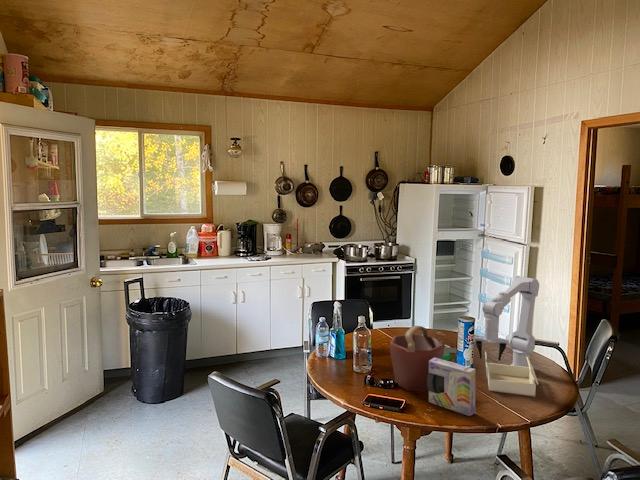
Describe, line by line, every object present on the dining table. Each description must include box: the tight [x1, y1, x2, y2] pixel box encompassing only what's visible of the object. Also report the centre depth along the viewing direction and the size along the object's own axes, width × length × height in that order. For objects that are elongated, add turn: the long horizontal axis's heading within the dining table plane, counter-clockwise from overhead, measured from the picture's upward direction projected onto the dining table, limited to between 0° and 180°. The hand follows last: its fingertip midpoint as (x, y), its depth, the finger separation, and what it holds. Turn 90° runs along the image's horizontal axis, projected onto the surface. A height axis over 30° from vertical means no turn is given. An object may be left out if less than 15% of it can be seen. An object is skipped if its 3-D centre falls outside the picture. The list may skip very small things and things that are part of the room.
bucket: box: [389, 325, 445, 392], centre depth 213 cm, size 24×22×25 cm
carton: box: [487, 362, 537, 397], centre depth 214 cm, size 20×18×5 cm
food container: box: [439, 340, 458, 363], centre depth 235 cm, size 12×6×10 cm, turn 21°
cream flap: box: [526, 357, 539, 386], centre depth 211 cm, size 20×5×1 cm
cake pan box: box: [427, 358, 477, 417], centre depth 191 cm, size 19×5×18 cm, turn 45°
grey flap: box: [484, 351, 488, 380], centre depth 216 cm, size 20×5×1 cm
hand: (489, 358), depth 216 cm, fingers open, 7 cm apart
